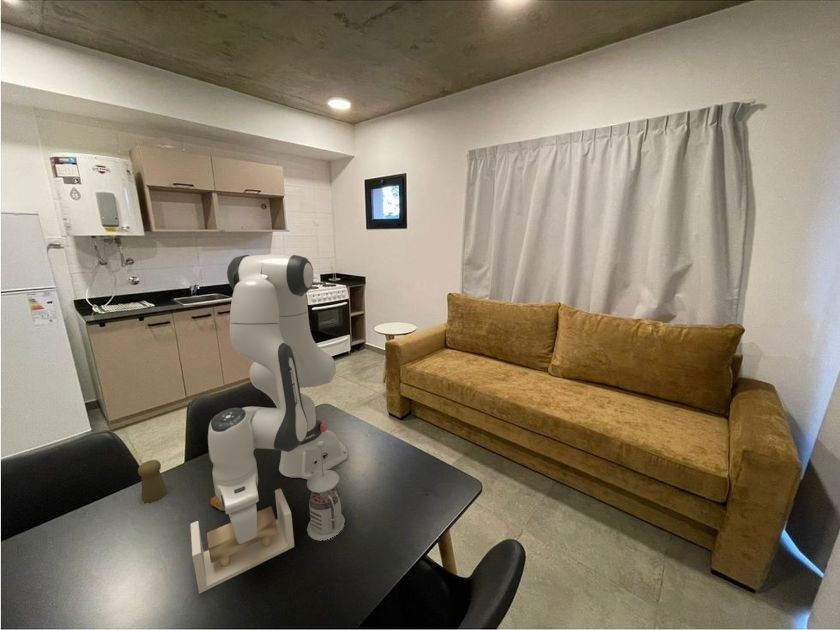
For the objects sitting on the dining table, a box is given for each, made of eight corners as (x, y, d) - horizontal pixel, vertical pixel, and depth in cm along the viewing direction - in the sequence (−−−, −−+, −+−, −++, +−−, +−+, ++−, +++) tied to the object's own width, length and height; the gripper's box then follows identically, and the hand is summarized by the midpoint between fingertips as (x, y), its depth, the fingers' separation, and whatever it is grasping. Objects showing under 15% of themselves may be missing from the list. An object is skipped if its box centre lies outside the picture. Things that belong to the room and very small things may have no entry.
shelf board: (272, 519, 88) (271, 506, 87) (277, 532, 84) (275, 519, 83) (209, 546, 80) (206, 532, 79) (210, 563, 76) (208, 548, 75)
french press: (333, 504, 98) (328, 426, 92) (356, 529, 90) (352, 444, 84) (300, 524, 91) (293, 441, 85) (322, 552, 83) (315, 462, 77)
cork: (153, 505, 97) (147, 471, 95) (136, 501, 98) (129, 468, 96) (172, 490, 103) (166, 458, 100) (156, 487, 104) (149, 455, 102)
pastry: (205, 511, 95) (203, 499, 94) (221, 494, 102) (219, 483, 101) (236, 514, 94) (235, 502, 94) (250, 496, 101) (249, 485, 100)
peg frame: (283, 519, 92) (280, 488, 90) (294, 546, 84) (291, 512, 82) (196, 558, 81) (190, 523, 79) (199, 593, 73) (192, 556, 71)
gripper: (216, 460, 85) (222, 507, 88) (226, 513, 68) (234, 569, 71) (244, 451, 88) (249, 497, 91) (260, 500, 72) (266, 553, 75)
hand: (243, 529), depth 81 cm, fingers open, 5 cm apart
